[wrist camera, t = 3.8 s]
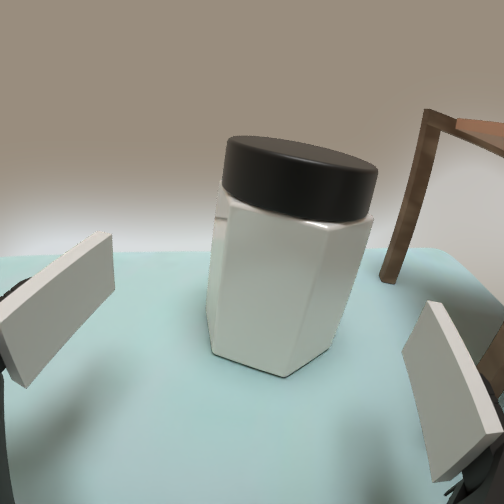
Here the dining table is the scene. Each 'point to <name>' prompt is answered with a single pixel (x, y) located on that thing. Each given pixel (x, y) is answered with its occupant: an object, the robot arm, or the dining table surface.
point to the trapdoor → (483, 130)
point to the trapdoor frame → (500, 350)
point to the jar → (285, 250)
